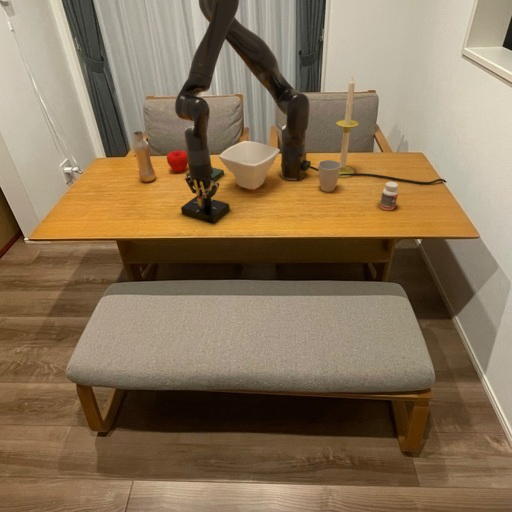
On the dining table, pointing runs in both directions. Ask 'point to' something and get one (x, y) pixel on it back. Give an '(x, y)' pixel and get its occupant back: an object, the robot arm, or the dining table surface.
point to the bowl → (249, 162)
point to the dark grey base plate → (214, 174)
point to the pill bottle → (389, 196)
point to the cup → (328, 174)
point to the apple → (177, 160)
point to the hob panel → (206, 210)
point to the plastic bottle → (143, 157)
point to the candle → (347, 130)
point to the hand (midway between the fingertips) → (205, 205)
